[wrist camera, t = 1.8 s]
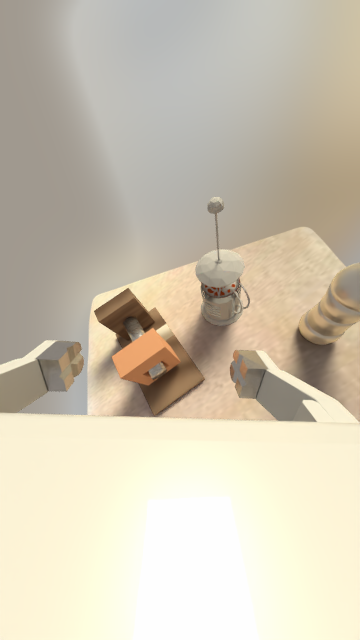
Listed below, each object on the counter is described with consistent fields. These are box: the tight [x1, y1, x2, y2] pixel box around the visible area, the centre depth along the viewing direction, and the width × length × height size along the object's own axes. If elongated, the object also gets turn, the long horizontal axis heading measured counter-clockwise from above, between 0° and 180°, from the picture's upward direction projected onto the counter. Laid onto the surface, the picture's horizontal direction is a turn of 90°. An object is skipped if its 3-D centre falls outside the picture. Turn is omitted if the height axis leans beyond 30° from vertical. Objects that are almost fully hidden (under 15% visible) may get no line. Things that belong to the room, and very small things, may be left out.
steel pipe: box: [123, 316, 167, 380], centre depth 35 cm, size 15×3×3 cm, turn 33°
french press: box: [196, 197, 250, 326], centre depth 30 cm, size 10×12×25 cm
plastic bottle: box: [299, 263, 360, 345], centre depth 26 cm, size 6×7×20 cm
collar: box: [112, 328, 181, 385], centre depth 32 cm, size 4×8×10 cm, turn 123°
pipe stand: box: [94, 288, 205, 415], centre depth 35 cm, size 21×12×12 cm, turn 33°
